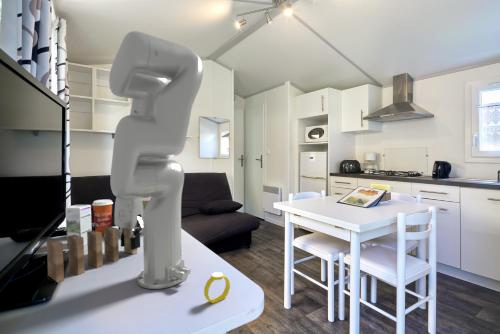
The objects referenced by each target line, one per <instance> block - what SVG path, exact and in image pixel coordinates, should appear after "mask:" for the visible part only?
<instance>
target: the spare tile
mask: <svg viewBox="0 0 500 334" xmlns="http://www.w3.org/2000/svg"><path fill="white" fill-rule="evenodd" d="M135 227H137V225H136V226H135ZM136 230H137V229H134V231H136ZM131 237H132V235H131V230H130V229H125V228H124V246H123V252H125V253H129V254H131V255H134V254H137V253H138V248H136V249H133V250H131V242H130V238H131Z"/></svg>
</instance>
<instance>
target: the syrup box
mask: <svg viewBox="0 0 500 334" xmlns="http://www.w3.org/2000/svg"><path fill="white" fill-rule="evenodd" d="M91 209H92V204H74V205H70V206H67V207H65V216H66V217H65V222H66V238H67V239H66V241H67V244H66V245H67V247H69V246H68V236H71V235H77V236H80V237H83V239H84V247H85V246H88V245H87V232H88V231H92V230H93V229H92V210H91Z"/></svg>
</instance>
